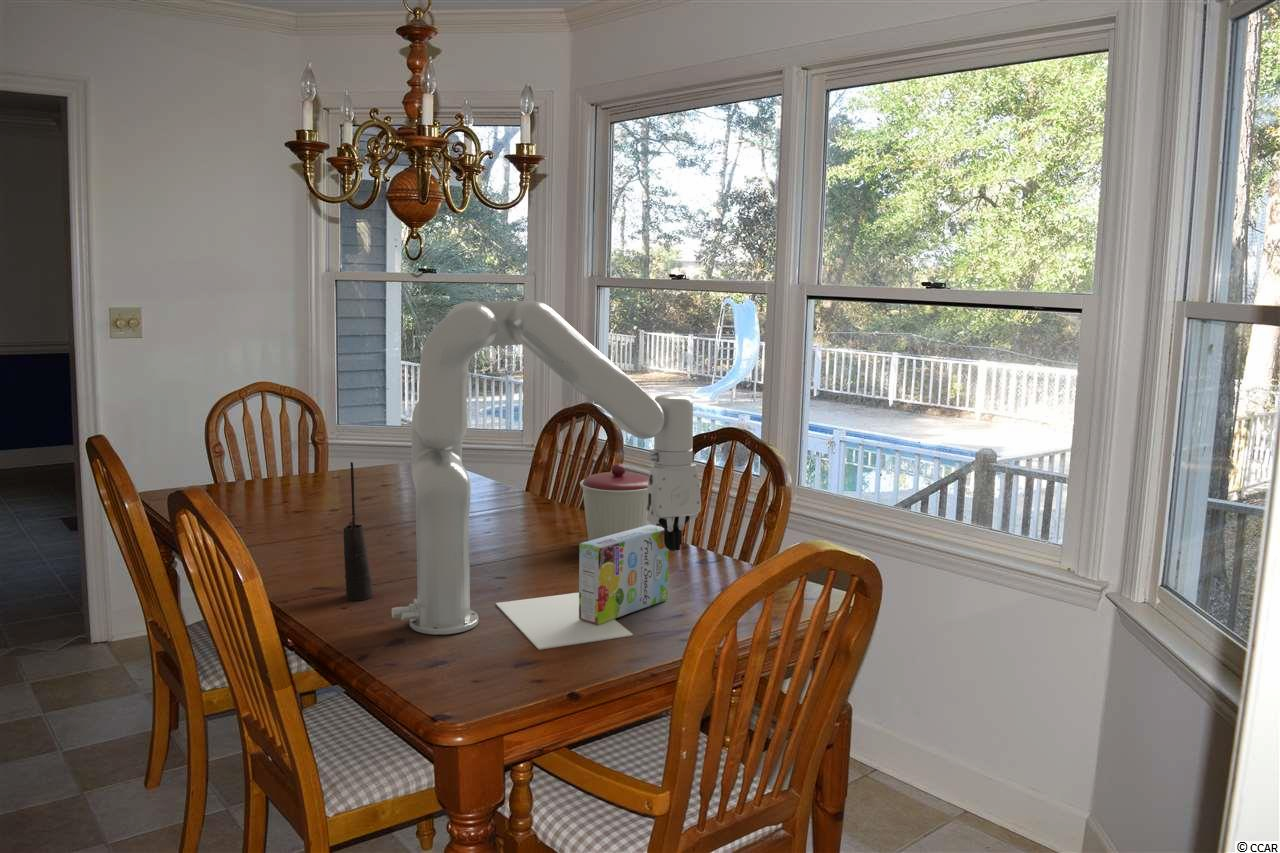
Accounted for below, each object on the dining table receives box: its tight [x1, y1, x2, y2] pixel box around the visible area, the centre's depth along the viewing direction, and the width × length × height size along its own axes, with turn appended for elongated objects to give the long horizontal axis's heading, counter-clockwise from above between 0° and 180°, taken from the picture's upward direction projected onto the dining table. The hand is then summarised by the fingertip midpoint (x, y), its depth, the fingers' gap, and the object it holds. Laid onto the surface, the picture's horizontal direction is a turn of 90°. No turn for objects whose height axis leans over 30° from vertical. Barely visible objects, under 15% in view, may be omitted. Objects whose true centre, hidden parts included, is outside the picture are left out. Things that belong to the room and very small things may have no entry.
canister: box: [579, 462, 650, 541], centre depth 235 cm, size 18×18×21 cm
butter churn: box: [343, 461, 374, 602], centre depth 199 cm, size 9×10×28 cm
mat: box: [495, 592, 634, 651], centre depth 189 cm, size 18×26×1 cm
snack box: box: [578, 523, 669, 625], centre depth 193 cm, size 21×6×15 cm, turn 141°
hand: (672, 548), depth 197 cm, fingers closed
